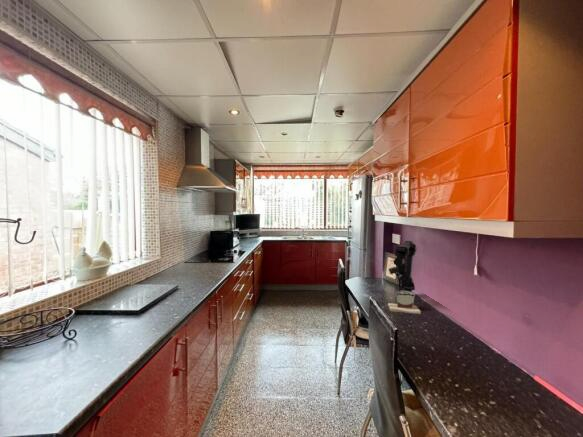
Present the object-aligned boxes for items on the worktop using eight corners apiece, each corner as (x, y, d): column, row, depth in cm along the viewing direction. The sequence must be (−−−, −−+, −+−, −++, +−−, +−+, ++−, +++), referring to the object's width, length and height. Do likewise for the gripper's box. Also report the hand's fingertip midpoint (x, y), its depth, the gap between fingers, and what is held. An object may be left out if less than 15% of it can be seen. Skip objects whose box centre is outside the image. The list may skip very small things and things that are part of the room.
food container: (412, 305, 177) (413, 291, 177) (415, 309, 171) (415, 293, 171) (393, 304, 180) (393, 289, 179) (395, 307, 174) (395, 292, 173)
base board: (388, 304, 182) (388, 303, 181) (415, 307, 178) (415, 305, 178) (391, 311, 170) (391, 309, 170) (420, 313, 166) (421, 311, 166)
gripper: (387, 260, 193) (386, 281, 194) (392, 266, 175) (391, 289, 175) (403, 261, 191) (402, 282, 192) (410, 267, 173) (409, 290, 173)
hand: (401, 285), depth 183 cm, fingers open, 9 cm apart
